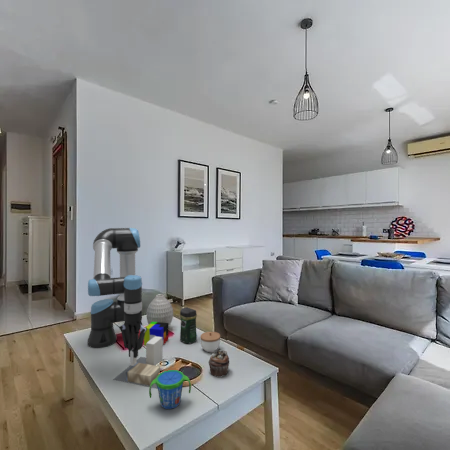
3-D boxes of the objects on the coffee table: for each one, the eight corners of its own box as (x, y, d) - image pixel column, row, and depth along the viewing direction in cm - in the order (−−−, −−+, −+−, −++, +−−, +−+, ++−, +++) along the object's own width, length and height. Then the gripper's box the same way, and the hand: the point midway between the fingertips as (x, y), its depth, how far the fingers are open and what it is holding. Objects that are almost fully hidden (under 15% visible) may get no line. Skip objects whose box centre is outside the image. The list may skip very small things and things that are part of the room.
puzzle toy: (161, 347, 151) (160, 329, 151) (144, 346, 153) (144, 328, 153) (168, 340, 161) (168, 322, 161) (152, 338, 163) (152, 321, 163)
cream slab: (146, 368, 129) (146, 343, 129) (155, 360, 137) (155, 336, 137) (153, 370, 128) (153, 344, 128) (162, 361, 136) (162, 337, 136)
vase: (174, 334, 169) (174, 297, 168) (146, 337, 164) (146, 299, 164) (172, 324, 184) (172, 291, 184) (146, 327, 180) (146, 292, 180)
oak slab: (125, 371, 120) (150, 376, 116) (136, 362, 127) (160, 366, 124) (125, 380, 120) (150, 385, 116) (136, 371, 127) (160, 375, 124)
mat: (112, 380, 120) (112, 379, 120) (140, 357, 141) (140, 356, 141) (166, 391, 113) (166, 390, 113) (187, 365, 133) (187, 364, 133)
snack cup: (146, 414, 100) (146, 386, 100) (152, 395, 110) (152, 370, 110) (190, 412, 101) (190, 384, 101) (191, 393, 112) (191, 368, 111)
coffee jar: (199, 341, 159) (199, 309, 159) (187, 345, 154) (187, 312, 153) (188, 336, 166) (188, 305, 166) (177, 340, 161) (177, 308, 160)
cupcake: (231, 368, 131) (231, 347, 131) (226, 379, 121) (226, 356, 121) (212, 365, 133) (212, 344, 133) (205, 376, 124) (205, 353, 124)
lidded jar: (208, 356, 141) (208, 338, 141) (196, 349, 150) (196, 332, 149) (224, 350, 148) (224, 333, 148) (212, 343, 156) (212, 327, 156)
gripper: (114, 312, 121) (115, 366, 121) (141, 315, 117) (141, 370, 118) (125, 307, 128) (126, 357, 129) (150, 310, 124) (150, 362, 125)
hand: (133, 364), depth 123 cm, fingers closed
